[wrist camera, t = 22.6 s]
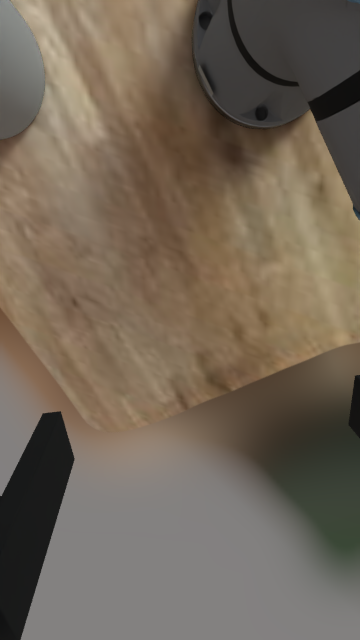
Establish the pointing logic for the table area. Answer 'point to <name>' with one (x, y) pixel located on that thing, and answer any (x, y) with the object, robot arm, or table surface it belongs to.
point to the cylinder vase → (18, 72)
